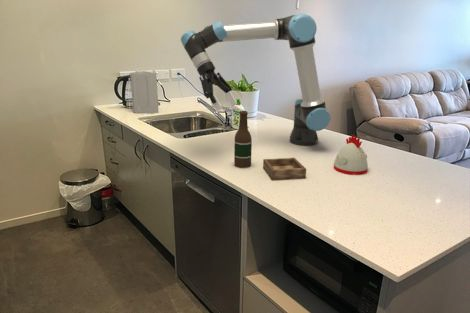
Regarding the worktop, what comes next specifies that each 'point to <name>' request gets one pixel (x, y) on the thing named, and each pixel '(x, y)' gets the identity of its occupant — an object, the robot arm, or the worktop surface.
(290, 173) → the square wooden tray
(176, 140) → the worktop surface
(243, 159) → the beer bottle
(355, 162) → the kitchen timer
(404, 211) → the worktop surface
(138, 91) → the paper bag
